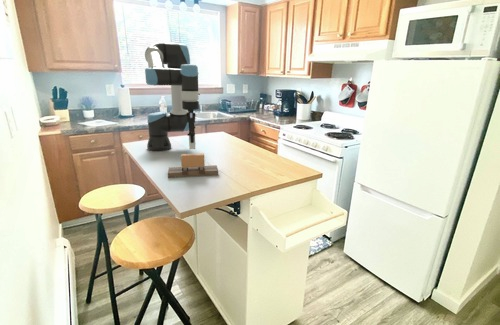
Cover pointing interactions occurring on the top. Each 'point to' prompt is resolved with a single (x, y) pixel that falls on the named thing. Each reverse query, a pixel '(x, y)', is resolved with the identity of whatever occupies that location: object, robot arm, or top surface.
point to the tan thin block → (192, 161)
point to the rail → (192, 171)
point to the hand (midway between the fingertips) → (192, 145)
